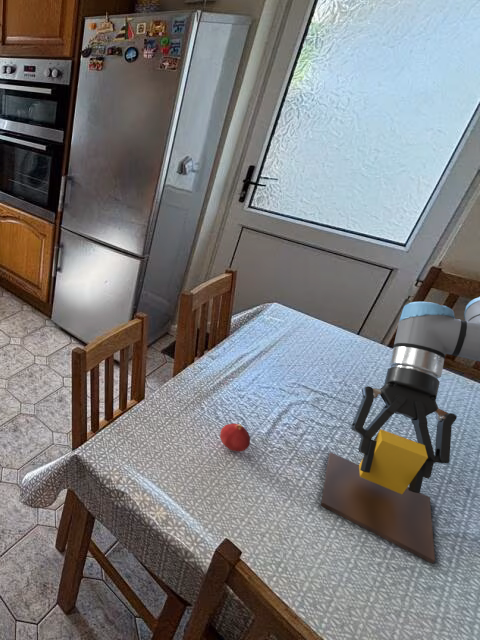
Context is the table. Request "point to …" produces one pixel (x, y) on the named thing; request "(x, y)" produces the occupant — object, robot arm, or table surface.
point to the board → (379, 508)
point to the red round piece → (235, 437)
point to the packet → (395, 461)
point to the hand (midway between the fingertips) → (388, 481)
